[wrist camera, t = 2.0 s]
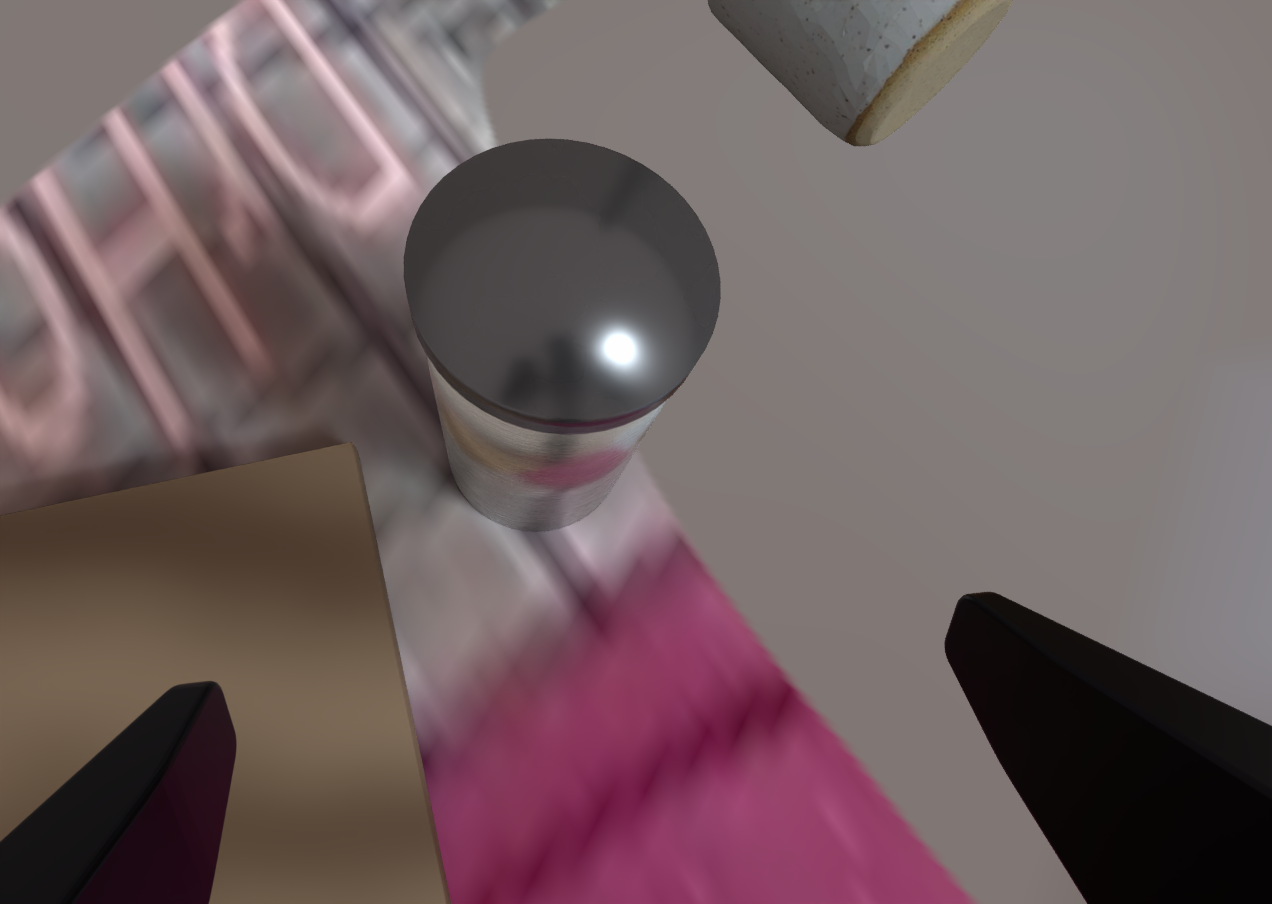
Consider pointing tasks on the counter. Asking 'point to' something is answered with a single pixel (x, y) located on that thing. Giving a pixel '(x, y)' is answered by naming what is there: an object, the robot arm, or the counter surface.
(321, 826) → the tan wooden panel
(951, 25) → the ceramic mug
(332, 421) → the counter surface
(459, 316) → the metal tin
